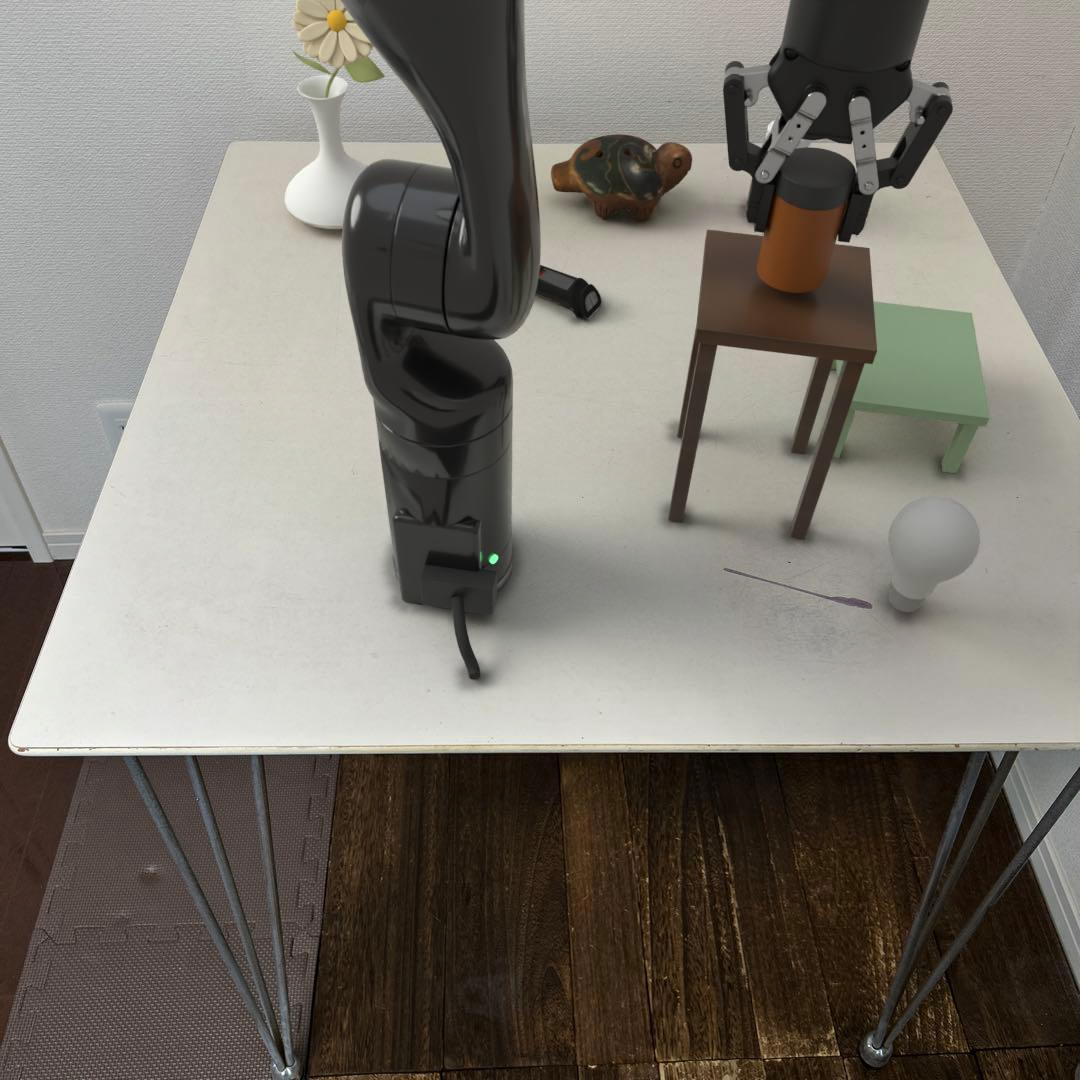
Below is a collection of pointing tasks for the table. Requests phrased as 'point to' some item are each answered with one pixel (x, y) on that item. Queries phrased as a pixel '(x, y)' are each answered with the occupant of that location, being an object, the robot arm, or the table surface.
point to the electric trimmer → (569, 292)
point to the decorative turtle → (623, 174)
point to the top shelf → (779, 347)
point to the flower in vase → (328, 109)
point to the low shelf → (924, 374)
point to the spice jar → (804, 219)
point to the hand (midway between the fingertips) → (801, 229)
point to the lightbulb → (929, 548)
